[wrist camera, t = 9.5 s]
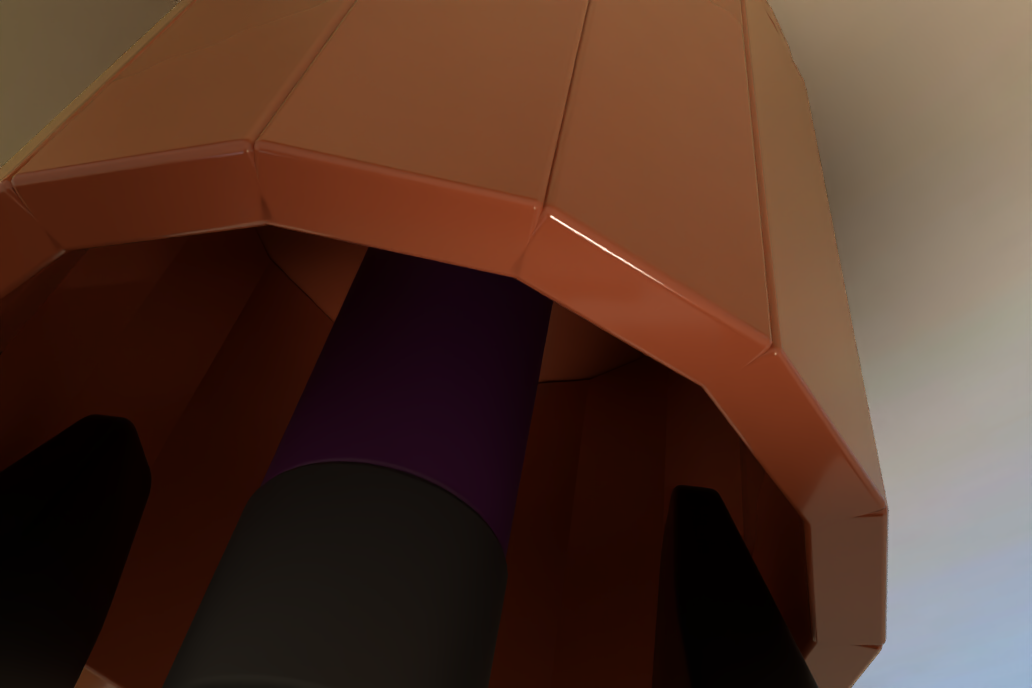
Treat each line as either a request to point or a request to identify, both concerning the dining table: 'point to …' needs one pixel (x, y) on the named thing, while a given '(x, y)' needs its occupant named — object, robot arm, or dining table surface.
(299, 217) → the pen cup
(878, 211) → the dining table surface
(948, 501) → the dining table surface
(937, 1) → the dining table surface
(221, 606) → the glue stick
